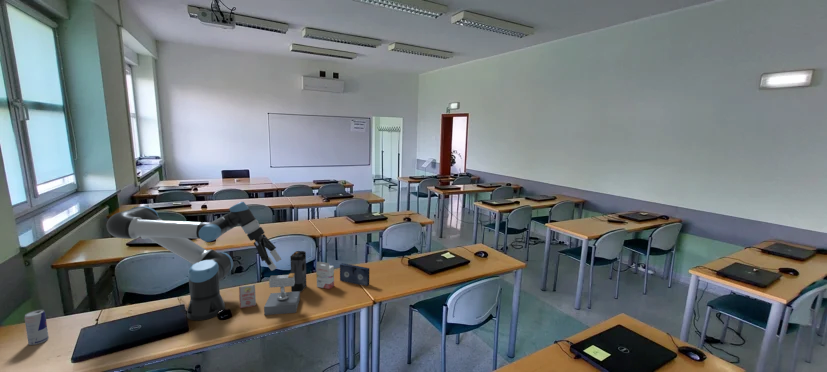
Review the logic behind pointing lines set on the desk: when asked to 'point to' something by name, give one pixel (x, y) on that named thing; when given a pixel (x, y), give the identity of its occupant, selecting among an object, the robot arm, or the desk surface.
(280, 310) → the grey flat square block
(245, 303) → the white red carton
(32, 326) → the energy drink
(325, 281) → the ink cartridge box
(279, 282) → the t key
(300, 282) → the electronic device
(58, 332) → the desk surface
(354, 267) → the vhs cassette tape
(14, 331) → the desk surface
